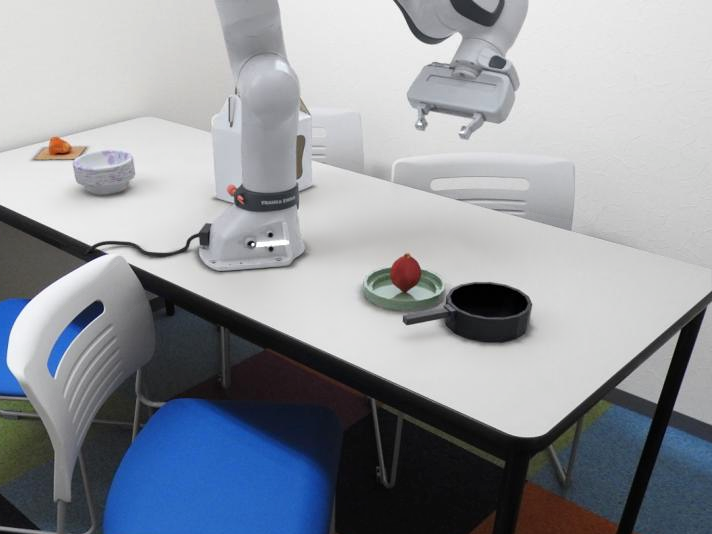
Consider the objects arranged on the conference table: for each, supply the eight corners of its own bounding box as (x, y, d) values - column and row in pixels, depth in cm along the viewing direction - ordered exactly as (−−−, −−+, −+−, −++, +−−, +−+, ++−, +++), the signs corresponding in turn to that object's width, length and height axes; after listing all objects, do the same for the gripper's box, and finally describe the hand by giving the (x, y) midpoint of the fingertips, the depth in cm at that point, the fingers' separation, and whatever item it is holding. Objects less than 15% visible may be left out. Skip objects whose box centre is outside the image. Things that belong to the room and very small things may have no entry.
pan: (498, 298, 145) (501, 276, 143) (544, 333, 134) (548, 310, 131) (385, 320, 139) (386, 297, 136) (423, 359, 128) (425, 335, 125)
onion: (386, 285, 149) (388, 246, 145) (415, 284, 150) (419, 245, 145) (392, 299, 144) (394, 259, 140) (422, 297, 145) (426, 257, 140)
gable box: (253, 210, 186) (248, 87, 170) (215, 198, 193) (206, 79, 177) (312, 186, 199) (313, 69, 183) (274, 175, 207) (271, 63, 191)
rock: (76, 159, 222) (73, 144, 220) (34, 160, 223) (31, 145, 220) (86, 147, 232) (83, 132, 230) (45, 147, 232) (42, 133, 230)
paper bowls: (65, 195, 197) (59, 164, 193) (98, 177, 209) (94, 147, 204) (116, 202, 192) (112, 170, 188) (147, 183, 204) (144, 152, 199)
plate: (384, 319, 139) (385, 306, 138) (350, 284, 151) (351, 273, 150) (459, 304, 143) (460, 292, 142) (420, 272, 155) (421, 260, 154)
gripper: (421, 50, 147) (388, 114, 146) (520, 63, 135) (484, 132, 135) (432, 71, 152) (400, 133, 151) (528, 86, 141) (493, 152, 140)
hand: (440, 133), depth 143 cm, fingers open, 8 cm apart
